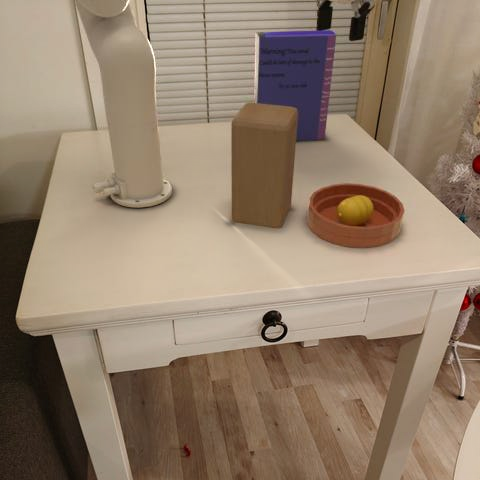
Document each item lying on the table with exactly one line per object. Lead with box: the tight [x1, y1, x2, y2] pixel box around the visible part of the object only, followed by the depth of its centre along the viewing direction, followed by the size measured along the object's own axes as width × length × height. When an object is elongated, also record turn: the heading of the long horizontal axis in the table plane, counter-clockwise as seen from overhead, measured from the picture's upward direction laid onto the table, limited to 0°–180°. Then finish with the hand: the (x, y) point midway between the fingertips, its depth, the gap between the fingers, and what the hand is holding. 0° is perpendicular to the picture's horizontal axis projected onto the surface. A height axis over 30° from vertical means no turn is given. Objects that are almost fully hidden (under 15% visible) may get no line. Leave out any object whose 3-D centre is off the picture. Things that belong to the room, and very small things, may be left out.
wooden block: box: [230, 101, 298, 229], centre depth 99 cm, size 10×10×20 cm
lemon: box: [337, 195, 373, 226], centre depth 100 cm, size 8×5×5 cm
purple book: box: [253, 29, 337, 142], centre depth 128 cm, size 17×5×24 cm, turn 98°
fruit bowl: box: [306, 182, 405, 249], centre depth 101 cm, size 17×17×4 cm
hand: (339, 34), depth 105 cm, fingers open, 9 cm apart
